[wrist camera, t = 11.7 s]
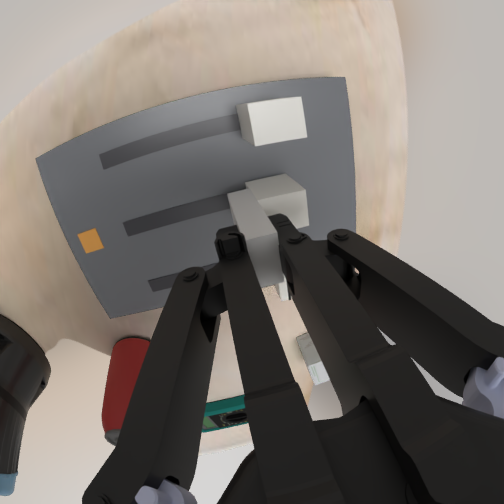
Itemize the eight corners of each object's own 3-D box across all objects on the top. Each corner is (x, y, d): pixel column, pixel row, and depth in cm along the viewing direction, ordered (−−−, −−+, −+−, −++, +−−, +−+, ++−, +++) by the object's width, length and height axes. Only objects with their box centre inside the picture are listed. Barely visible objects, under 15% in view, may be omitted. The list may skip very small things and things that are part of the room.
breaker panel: (114, 302, 25) (101, 353, 19) (49, 152, 17) (3, 173, 11) (344, 244, 27) (379, 282, 21) (330, 78, 18) (379, 74, 13)
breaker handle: (251, 212, 20) (263, 236, 17) (244, 182, 19) (256, 200, 15) (289, 203, 20) (309, 225, 17) (285, 173, 19) (305, 189, 16)
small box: (294, 336, 32) (307, 367, 28) (336, 318, 32) (353, 346, 28) (303, 359, 35) (315, 387, 31) (341, 343, 35) (355, 369, 31)
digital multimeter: (280, 402, 42) (284, 416, 39) (198, 421, 41) (200, 435, 38) (273, 382, 38) (278, 398, 35) (182, 404, 37) (182, 419, 35)
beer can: (104, 336, 27) (87, 428, 17) (157, 332, 28) (153, 431, 18) (124, 370, 30) (116, 452, 20) (171, 367, 31) (174, 453, 21)
